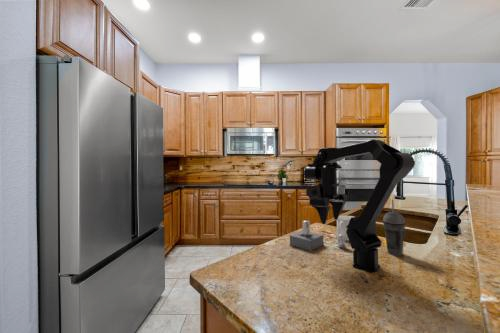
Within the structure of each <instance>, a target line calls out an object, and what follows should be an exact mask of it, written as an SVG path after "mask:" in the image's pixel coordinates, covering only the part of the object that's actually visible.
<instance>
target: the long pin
mask: <svg viewBox="0 0 500 333" xmlns="http://www.w3.org/2000/svg"><path fill="white" fill-rule="evenodd" d="M301 224H302V231H303V237H307V238H308V237H310V232H311V221H310V220H302V223H301Z"/></svg>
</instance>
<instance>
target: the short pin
mask: <svg viewBox="0 0 500 333" xmlns="http://www.w3.org/2000/svg"><path fill="white" fill-rule="evenodd" d="M346 242H347V241H346V239H345V235H344V234H338V237H337V248H338V249H341V250H342V249H344V250H345V249H346V247H347V246H346Z"/></svg>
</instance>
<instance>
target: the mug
mask: <svg viewBox="0 0 500 333" xmlns="http://www.w3.org/2000/svg"><path fill="white" fill-rule="evenodd" d="M352 217H354V215H339V217H338V219H337V220H336V237H337V238H338V234H344V235H345V239H346V242H350V241H349V238H348V236H347V234H346V231H347V228H346V226H347V225H348V224H349V221H350V219H351V218H352Z"/></svg>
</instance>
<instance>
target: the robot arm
mask: <svg viewBox="0 0 500 333" xmlns="http://www.w3.org/2000/svg"><path fill="white" fill-rule="evenodd" d="M368 154H371V155H372V157H373V158H374V159H375V160H376V161H377V162H378V163H379V164H380V167H379V170H378V171H379V178H378V181H377V182H376V184H375V186H374V188H373V190H372V192H371V195H370V196H369V198H368V200H367V202H366V204H365V206H364V207H363V210H362V212H361V214H360V215H358V216H353V217H352V218H351V219H350V221H349V224H348V225H347V226H346V228H347V231H346V234H347V236H348V238H349V241H348V242H349V245H350V248H351V249H352V250H353V251H352V259H353V264H352V267H353V268H356V269H360V270H363V271H366V272H370V273H375V272H376V271H378V269H379V268H381V264H380V263H379V248H381V246H382V243H383V242H382V240H381V239H380V237H378V235H377V234H376V233H375V232H376V229H377V224H376V222H377V220H378V218H379V216H380V215H381V213H382V211H383V209H384V207H385V206H386V204H387V203H388V200H389V199H390V197H391V195H392V194H393V192H394V190H395V188H396V186H397V184H398V183H400V182H401V181H402V180H403V179H404V178H406V177H407V176H408V174H409V173H410V172H411V171H412V170H414V167H415V164H416V161H415V158H414V157H413V155H411V154H410V153H407V152H402V151H401V150H399V149H397V148H395V147H393V146H391V145H389V144H388V143H386V142H384V141H383V140H381V139H369V140H367V141H363V142H359V143H358V142H357V143H353V144H349V145H344V146H340V147H321V148H319V149H318V151H317V154H316V157H314V160H313V162H312V163H307V167H305V169H304V172H303V175H304V178H305V179H306V180H308V181H320V183H318V184H317V187H315V188H313V187H311V186H310V187H307V188H306V189H305V193H306V194H305V195H306V196H307V197H308V198H309V200H308V203H309V204H308V205H309V206H311V207H312V208H314V209H315V210H316V212H317V213H318V216H319V219H320V223H321V224H322V225H326V223H327V220H328V219H327V218H328V216H329V211H330V208H331V207H332V215H333V219H334V220H335V221H337V219H338V217H339V216H341V215H340V214H341V212H342V210H343V208H344V206H345V204H346V203H347V202H348V199H349V198H348V195H347V194H346V193H345V192H343V193H342V192H338V187H340V183H338V182H337V169H342V168H343V167H342V166H341V165H340V164H338V162H341V161H342V160H343V159H346V158H351V157H356V156H362V155H368Z"/></svg>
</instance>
